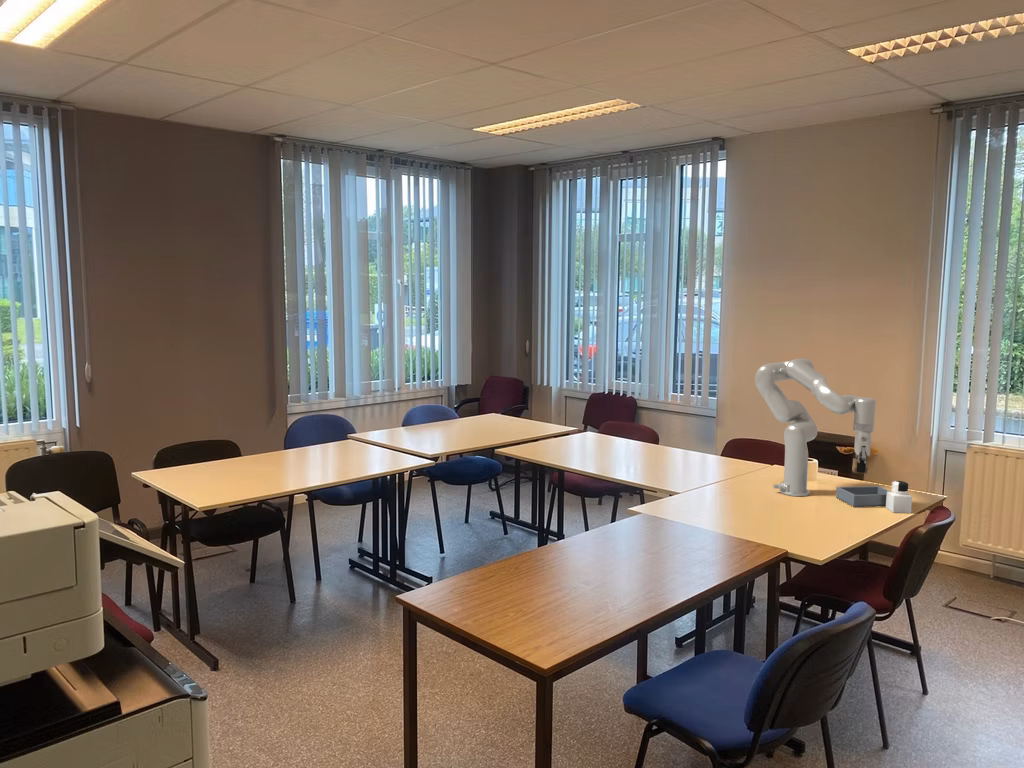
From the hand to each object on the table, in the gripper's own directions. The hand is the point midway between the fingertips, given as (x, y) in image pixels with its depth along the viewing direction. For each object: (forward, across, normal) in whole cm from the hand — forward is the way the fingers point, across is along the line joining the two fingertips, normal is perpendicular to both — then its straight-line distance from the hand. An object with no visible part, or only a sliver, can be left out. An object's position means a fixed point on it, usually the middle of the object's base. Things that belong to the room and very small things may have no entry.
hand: (859, 470), depth 303 cm
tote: (+15, +6, -4) cm, 17 cm away
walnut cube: (+1, 0, 0) cm, 1 cm away
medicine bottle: (+15, -4, -15) cm, 21 cm away
